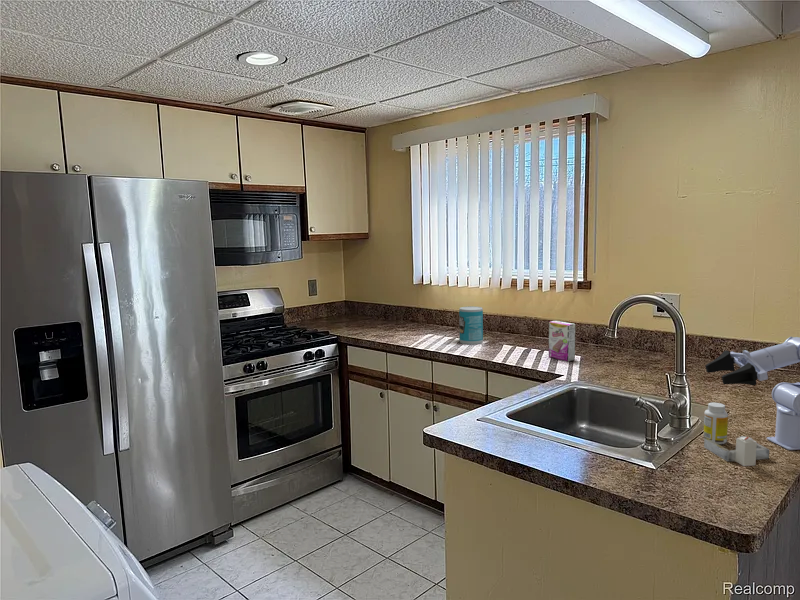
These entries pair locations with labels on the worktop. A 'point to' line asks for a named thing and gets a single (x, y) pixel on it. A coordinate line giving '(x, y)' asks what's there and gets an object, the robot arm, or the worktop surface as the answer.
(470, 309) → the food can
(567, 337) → the candy bar box
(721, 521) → the worktop surface
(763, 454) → the scale bay
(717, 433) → the supplement bottle
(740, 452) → the block
